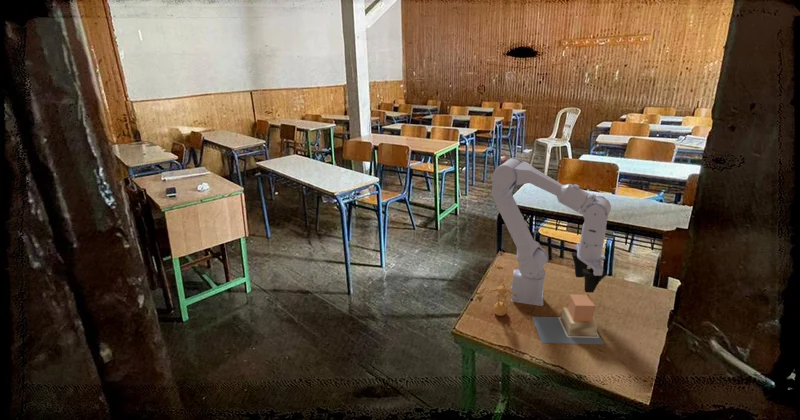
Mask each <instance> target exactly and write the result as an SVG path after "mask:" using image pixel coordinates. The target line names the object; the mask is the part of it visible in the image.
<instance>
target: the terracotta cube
mask: <svg viewBox="0 0 800 420" xmlns="http://www.w3.org/2000/svg"><path fill="white" fill-rule="evenodd" d="M567 307H568V309H567V310H568V312H569V314H570V316H571V318H572V320H573V321H592V320H593V316H594V315H595V314H594V313H595V309H596V305H595V303H594V301H593V300H592V297H591V296H590V295H589V294H572V293H571V294H570V293H569V299H568V304H567Z"/></svg>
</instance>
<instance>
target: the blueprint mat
mask: <svg viewBox="0 0 800 420" xmlns="http://www.w3.org/2000/svg"><path fill="white" fill-rule="evenodd" d="M561 318H562V316H557V317H556V316H532V321H533V323H534V326H535V328H536V331H537V334H538V336H539V339H540V342H541V344H565V345H567V344H569V345H573V344H574V345H575V344H576V345H605V343H604V341H603V340H602V338H601V336H600V335H599V332H598V331H597V332H596V336H572V335H569V334H568V332H567V330H566V328H565V326H564V324H563V322H562V319H561Z"/></svg>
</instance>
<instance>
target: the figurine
mask: <svg viewBox="0 0 800 420" xmlns="http://www.w3.org/2000/svg"><path fill="white" fill-rule="evenodd" d="M510 290H511V289H508V288H507V287H506V285H505V283H504V282H502V283H501V284H500V286H498V287H496V288H493V289H490V290H489V291H488V292H487V293H486V295H489V294H490V293H493V292H498V293H496V298H497V299H496V303H495V304H494V305H493V312H494V313H495V315H496V316H499V317H503V316H505V315H506V314H507V313H508V306H507V304H506V299H507V297H508V295H507V294H506V293H510V295H511V294H513V295H514V296H515V297H516V298H517V296H516V295H515V294H514V293H513V292H512V291H510ZM500 298H502V299H503V300H502V301H500Z"/></svg>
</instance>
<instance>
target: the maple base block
mask: <svg viewBox="0 0 800 420" xmlns="http://www.w3.org/2000/svg"><path fill="white" fill-rule="evenodd" d="M567 309H568V306H567V307H565V306H564V307H562V311H561V313H562V314H561V317H562V318H561V319H562V322H563V324H564V326H565V328H566V330H567V332H568V334H569V335H572V336H596V332H598V326H599V323H598V320H596V317H595V316H594V315H593V320H592V321H573V320H572V318H571V316H570V314H569V312H568V310H567Z"/></svg>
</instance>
